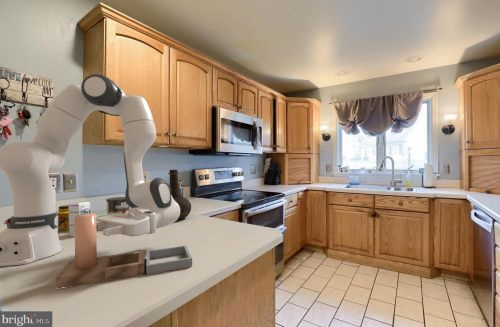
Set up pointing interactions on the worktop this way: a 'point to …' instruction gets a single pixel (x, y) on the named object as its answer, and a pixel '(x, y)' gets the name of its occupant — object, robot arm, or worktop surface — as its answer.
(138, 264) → the partly covered box
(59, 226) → the condiment
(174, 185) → the dark brown vase
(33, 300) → the worktop surface
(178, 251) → the grey square frame
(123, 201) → the coffee can
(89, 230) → the peach cylinder
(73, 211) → the syrup box
